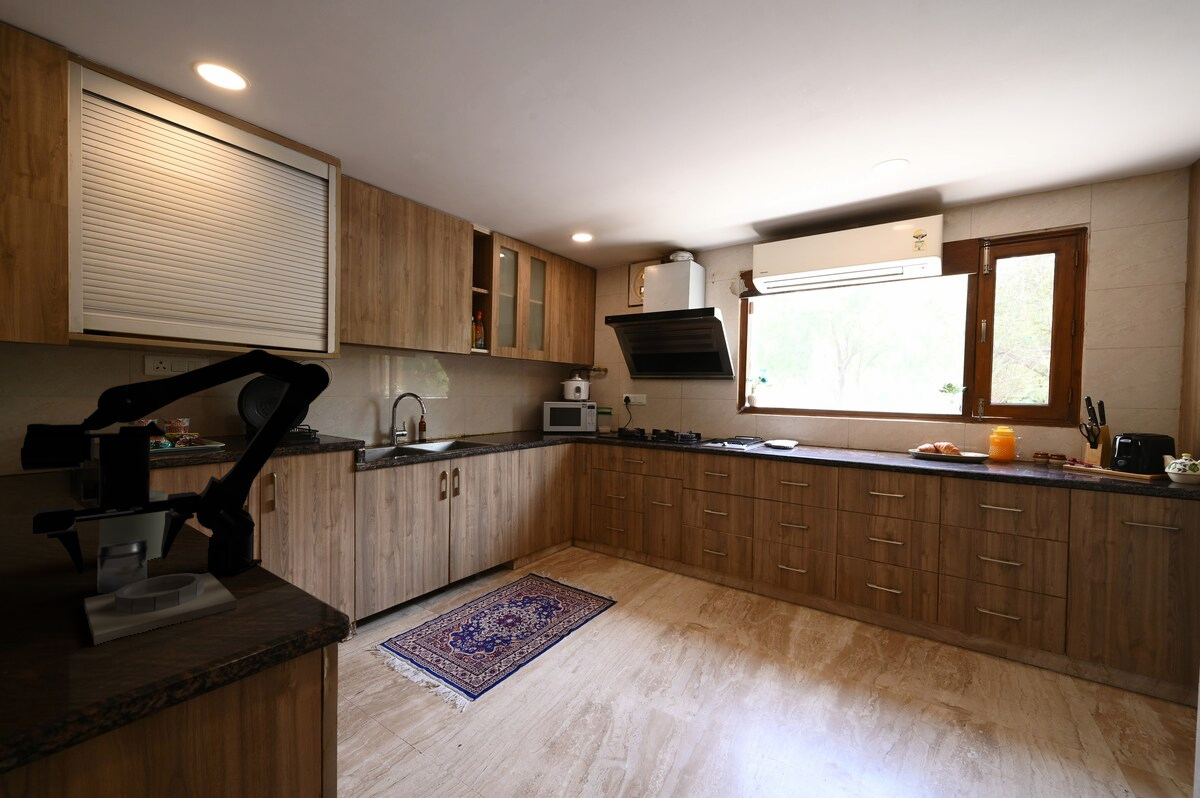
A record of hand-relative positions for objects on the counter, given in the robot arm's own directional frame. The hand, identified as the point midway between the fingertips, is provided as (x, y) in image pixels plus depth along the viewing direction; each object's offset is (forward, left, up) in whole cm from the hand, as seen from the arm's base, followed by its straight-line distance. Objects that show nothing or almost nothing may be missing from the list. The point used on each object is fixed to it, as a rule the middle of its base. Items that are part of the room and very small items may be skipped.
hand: (123, 565), depth 76 cm
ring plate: (+7, +12, -3) cm, 15 cm away
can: (-14, -12, -4) cm, 18 cm away
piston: (0, 0, -3) cm, 3 cm away
